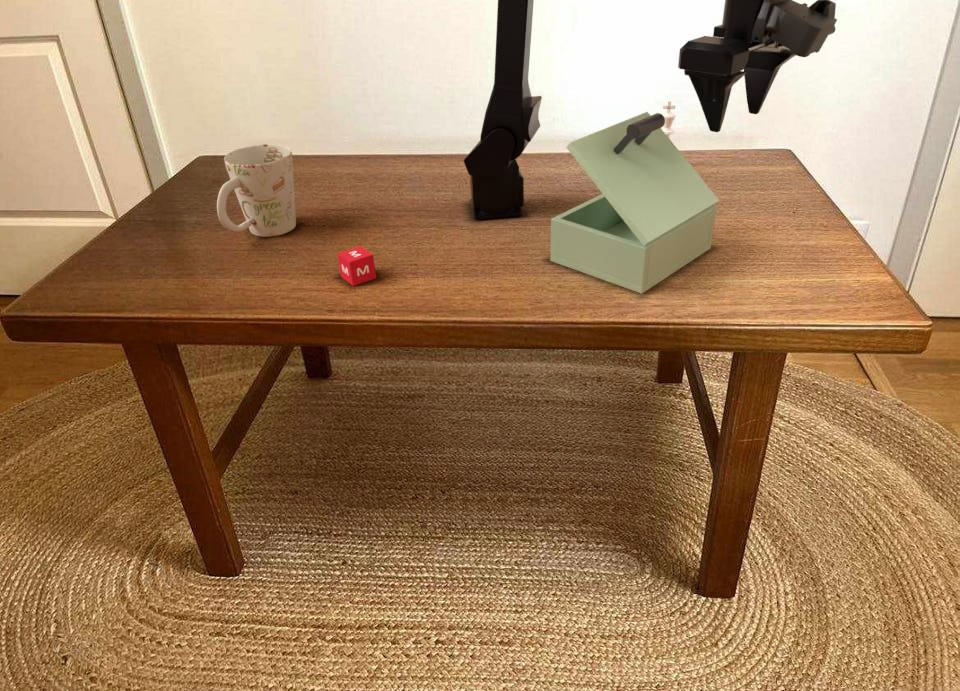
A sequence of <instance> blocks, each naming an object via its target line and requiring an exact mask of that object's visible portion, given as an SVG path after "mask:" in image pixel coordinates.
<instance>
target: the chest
mask: <svg viewBox="0 0 960 691" xmlns="http://www.w3.org/2000/svg"><path fill="white" fill-rule="evenodd" d="M716 214H717V205H713V206H712V207H710V208H708V209H707V210H705V211H703V212H702V213H700V214H698V215H697V216H695V217H693V218H692V219H690V220H688V221H686V222H685V223H683V224H681V225H680V226H678V227H676V228H675V229H673V230H671V231H670V232H668V233H666V234H665V235H663V236H661V237H660V238H658V239H656V240H654V241H653V242H651V243H649V244H648V245H646V246H643V245H642V243H641V242H640V241H639V239H638V238H637V237H636V236H635V234H634V233H633V232H632V231H631V229H630V228H629V227H628V225H627V224H626V223H625V222H624V220H623V219H622V218H621V217H620V215H619V214H618V213H617V211H616V210H615V209H614V208H613V206H612V205H611V204H610V202H609V201H608V200H607V199H606V197H605V196H604V195H603V194H602V193H601V194H599V195H596V196H595V197H593V198H591V199H589V200H586V201H585V202H582V203H581V204H578V205H576V206H574V207H572V208H570V209H568V210H566V211H564V212H562V213H560V214H558V215H556V216H554V217H552V218H550V251H549V252H550V254H549V256H550V257H549V258H550V262H553V263H555V264H558V265H561V266H564V267H567V268H569V269H571V270H574V271H578V272H580V273H583V274H586V275H588V276H591V277H595V278H597V279H599V280H601V281H605V282H607V283H610V284H613V285H616V286H619V287H621V288H625V289H627V290H631V291H633V292H636V293H639V294H641V295H642V294H644V293H645V292H647V291H648V290H650V289H651V288H653V287H654V286H656V285H657V284H659V283H660V282H662V281H664V280H665V279H667V278H668V277H669V276H671V275H672V274H674V273H675V272H677V271H679V270H680V269H681V268H683V267H685V266H686V265H687V264H689V263H691V262H692V261H693V260H695V259H697V258H698V257H700V256H701V255H703V254H704V253H706V252H707V251H709V250H711V249H712V248H711V246H712V242H713V234H714V227H715V220H716Z"/></svg>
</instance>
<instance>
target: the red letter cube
mask: <svg viewBox="0 0 960 691" xmlns="http://www.w3.org/2000/svg"><path fill="white" fill-rule="evenodd" d="M374 257H375V256H374V254H373V253H371V252H370V251H368V250H367V249H366V248H364V247H363V246H361V245H360V246H357V247H353V248H350V249H347V250H344V251H341V252H338V253H337V260H338V267H339V274H340V277H341V278H342V279H343V280H344V281H346V282H347V283H349V284H350V285H351V286H352V287H356V286H358V285H360V284H363V283H366V282H369V281H372V280H375V279H377V273H376V264H375V258H374Z"/></svg>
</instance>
